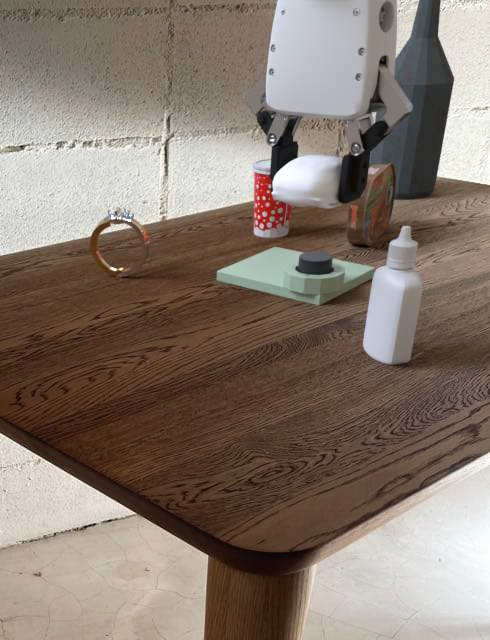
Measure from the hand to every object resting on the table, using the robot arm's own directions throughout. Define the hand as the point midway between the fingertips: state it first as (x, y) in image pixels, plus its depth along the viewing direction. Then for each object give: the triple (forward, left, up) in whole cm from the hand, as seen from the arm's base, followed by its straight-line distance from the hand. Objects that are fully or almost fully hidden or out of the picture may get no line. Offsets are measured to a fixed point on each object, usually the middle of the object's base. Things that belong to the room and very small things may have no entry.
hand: (315, 193), depth 79 cm
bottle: (+21, -59, -14) cm, 65 cm away
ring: (+28, -3, -14) cm, 31 cm away
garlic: (0, 0, -1) cm, 1 cm away
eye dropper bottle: (-8, -2, -14) cm, 17 cm away
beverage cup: (+24, -29, -14) cm, 41 cm away
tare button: (+6, -12, -12) cm, 18 cm away
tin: (+13, -35, -14) cm, 40 cm away
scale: (+11, -15, -14) cm, 24 cm away
